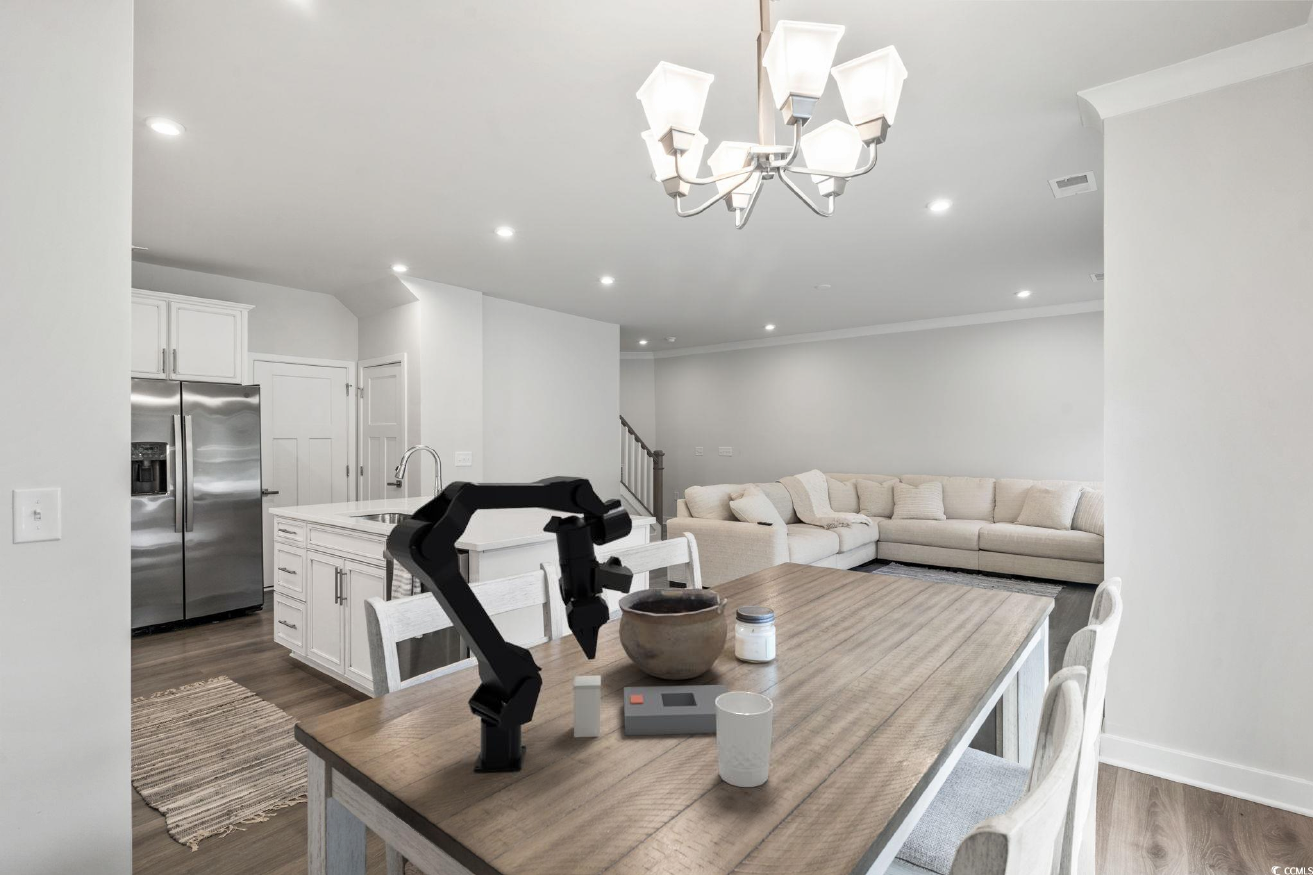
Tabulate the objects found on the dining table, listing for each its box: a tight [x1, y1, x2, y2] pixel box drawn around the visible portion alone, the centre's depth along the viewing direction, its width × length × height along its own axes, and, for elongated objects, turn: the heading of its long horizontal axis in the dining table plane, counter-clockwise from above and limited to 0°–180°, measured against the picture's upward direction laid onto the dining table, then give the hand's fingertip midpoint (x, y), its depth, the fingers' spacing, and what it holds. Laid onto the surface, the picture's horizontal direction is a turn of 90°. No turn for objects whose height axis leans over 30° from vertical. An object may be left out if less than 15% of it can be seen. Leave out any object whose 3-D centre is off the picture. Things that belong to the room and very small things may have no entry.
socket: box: [623, 684, 730, 736], centre depth 106 cm, size 12×18×3 cm, turn 94°
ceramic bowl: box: [618, 587, 728, 681], centre depth 128 cm, size 22×22×15 cm
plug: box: [572, 675, 602, 738], centre depth 101 cm, size 4×4×8 cm
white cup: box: [715, 691, 774, 788], centre depth 88 cm, size 8×8×10 cm
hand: (588, 647), depth 104 cm, fingers open, 9 cm apart
